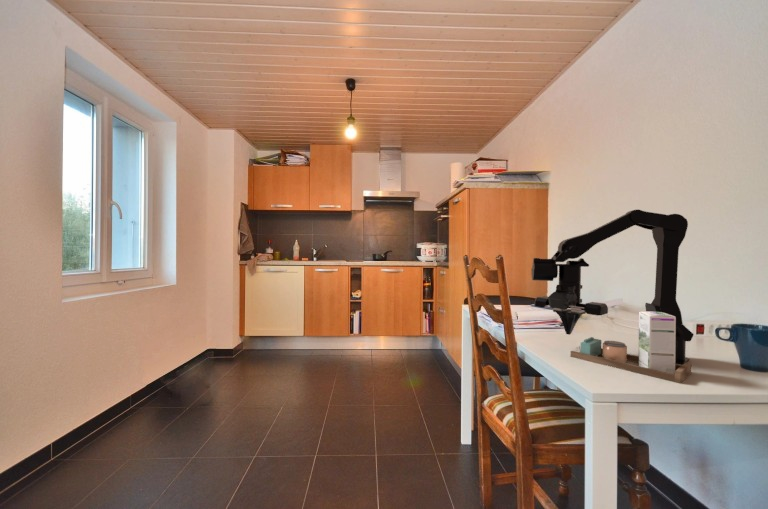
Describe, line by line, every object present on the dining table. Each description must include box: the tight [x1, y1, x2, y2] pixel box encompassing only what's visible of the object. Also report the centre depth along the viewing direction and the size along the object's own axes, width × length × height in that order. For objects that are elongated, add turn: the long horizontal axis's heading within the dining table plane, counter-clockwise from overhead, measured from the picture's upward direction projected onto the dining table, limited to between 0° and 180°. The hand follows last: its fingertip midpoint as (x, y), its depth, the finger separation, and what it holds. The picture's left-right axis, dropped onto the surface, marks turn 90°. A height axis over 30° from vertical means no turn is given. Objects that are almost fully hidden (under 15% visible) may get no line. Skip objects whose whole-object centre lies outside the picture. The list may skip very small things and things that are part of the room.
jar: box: [602, 340, 628, 363], centre depth 94 cm, size 5×5×5 cm
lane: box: [569, 347, 692, 384], centre depth 92 cm, size 10×24×2 cm, turn 38°
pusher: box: [579, 336, 602, 357], centre depth 99 cm, size 8×2×5 cm, turn 128°
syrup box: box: [637, 310, 676, 374], centre depth 87 cm, size 6×6×14 cm
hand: (568, 334), depth 104 cm, fingers closed
